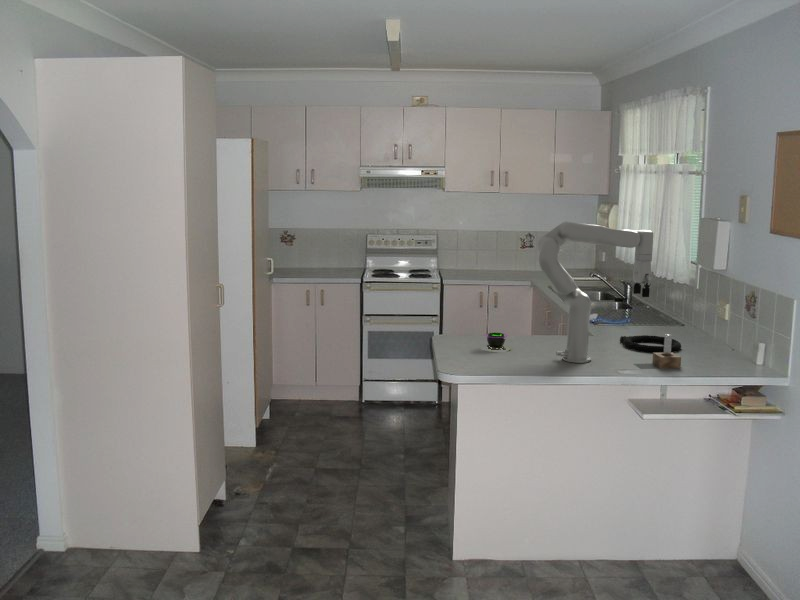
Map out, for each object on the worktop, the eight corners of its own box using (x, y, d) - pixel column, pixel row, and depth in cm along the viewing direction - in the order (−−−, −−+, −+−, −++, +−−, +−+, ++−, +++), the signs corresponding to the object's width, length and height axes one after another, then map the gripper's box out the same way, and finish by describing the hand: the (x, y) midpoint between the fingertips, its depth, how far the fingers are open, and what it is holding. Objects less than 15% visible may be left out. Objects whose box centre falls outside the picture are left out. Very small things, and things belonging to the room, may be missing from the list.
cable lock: (669, 349, 369) (609, 340, 388) (668, 357, 369) (608, 347, 388) (689, 339, 390) (632, 331, 409) (689, 347, 390) (631, 338, 409)
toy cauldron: (517, 351, 378) (518, 328, 376) (491, 354, 371) (491, 331, 370) (500, 345, 391) (500, 323, 389) (474, 347, 385) (474, 325, 383)
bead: (660, 368, 344) (661, 357, 343) (652, 363, 353) (653, 352, 352) (680, 368, 345) (681, 357, 344) (671, 363, 354) (672, 352, 353)
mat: (640, 369, 343) (640, 368, 343) (632, 364, 352) (633, 363, 352) (682, 369, 345) (682, 368, 345) (673, 364, 354) (673, 363, 354)
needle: (664, 366, 347) (666, 335, 345) (661, 365, 350) (663, 334, 348) (671, 366, 348) (673, 335, 345) (668, 364, 351) (670, 334, 348)
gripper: (628, 255, 361) (626, 292, 364) (642, 260, 345) (640, 298, 347) (643, 255, 362) (641, 292, 365) (659, 259, 345) (657, 298, 348)
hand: (641, 295), depth 356 cm, fingers open, 9 cm apart
